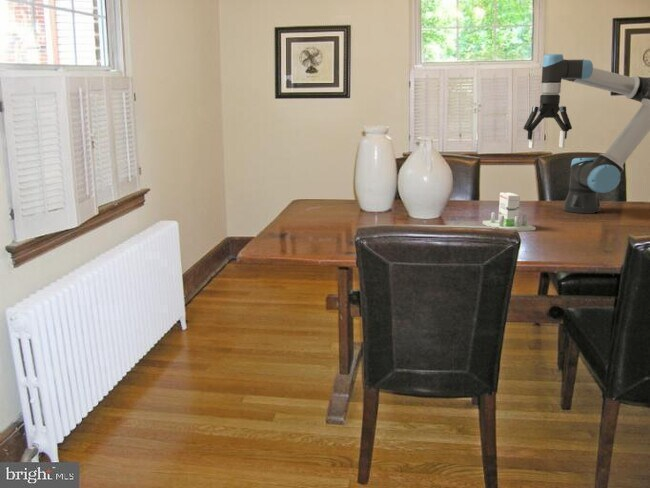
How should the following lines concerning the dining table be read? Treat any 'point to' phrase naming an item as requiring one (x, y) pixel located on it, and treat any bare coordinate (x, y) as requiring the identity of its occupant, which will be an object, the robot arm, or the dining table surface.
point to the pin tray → (517, 226)
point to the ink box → (509, 207)
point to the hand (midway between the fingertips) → (546, 147)
